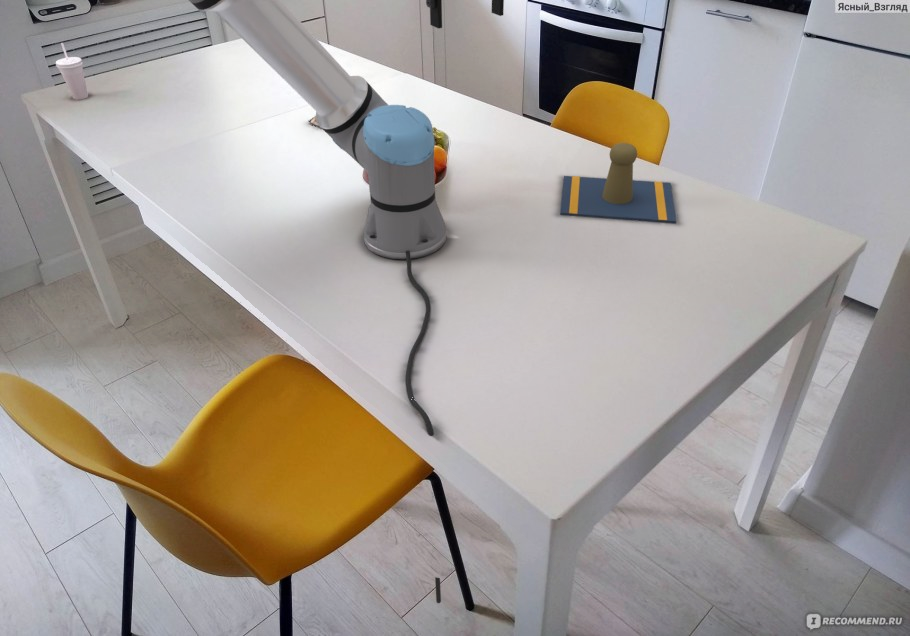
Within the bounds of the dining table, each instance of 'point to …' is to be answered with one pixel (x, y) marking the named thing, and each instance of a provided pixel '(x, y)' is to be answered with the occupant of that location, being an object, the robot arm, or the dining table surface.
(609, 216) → the towel
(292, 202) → the dining table surface
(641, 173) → the dining table surface
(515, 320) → the dining table surface
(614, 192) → the cork
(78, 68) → the smoothie
